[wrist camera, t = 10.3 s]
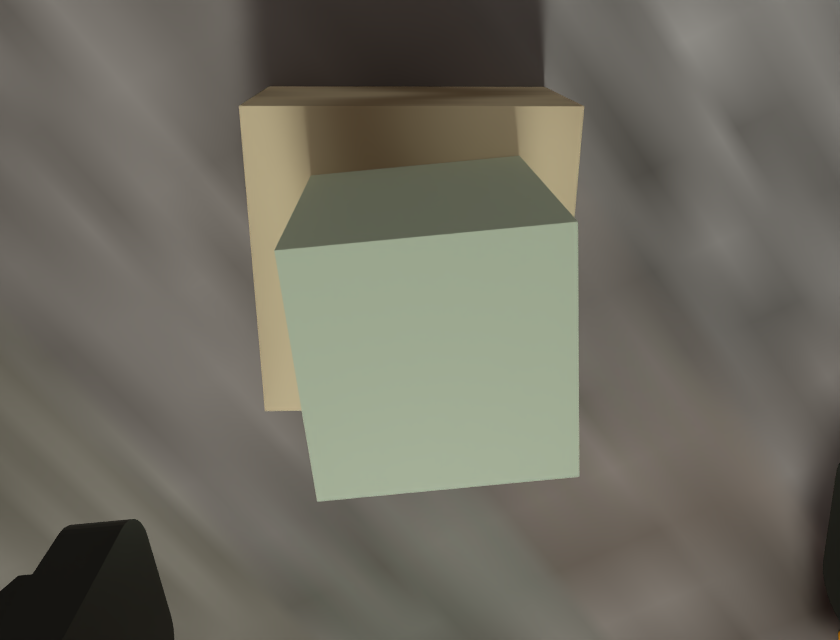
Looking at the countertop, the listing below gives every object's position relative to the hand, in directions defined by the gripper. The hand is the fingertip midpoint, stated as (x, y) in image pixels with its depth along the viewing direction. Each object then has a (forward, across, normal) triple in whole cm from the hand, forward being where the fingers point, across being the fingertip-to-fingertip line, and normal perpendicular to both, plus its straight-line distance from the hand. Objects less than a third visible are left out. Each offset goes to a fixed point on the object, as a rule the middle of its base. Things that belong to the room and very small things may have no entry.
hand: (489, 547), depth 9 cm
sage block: (+11, 0, 0) cm, 11 cm away
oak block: (+16, +1, 0) cm, 16 cm away
